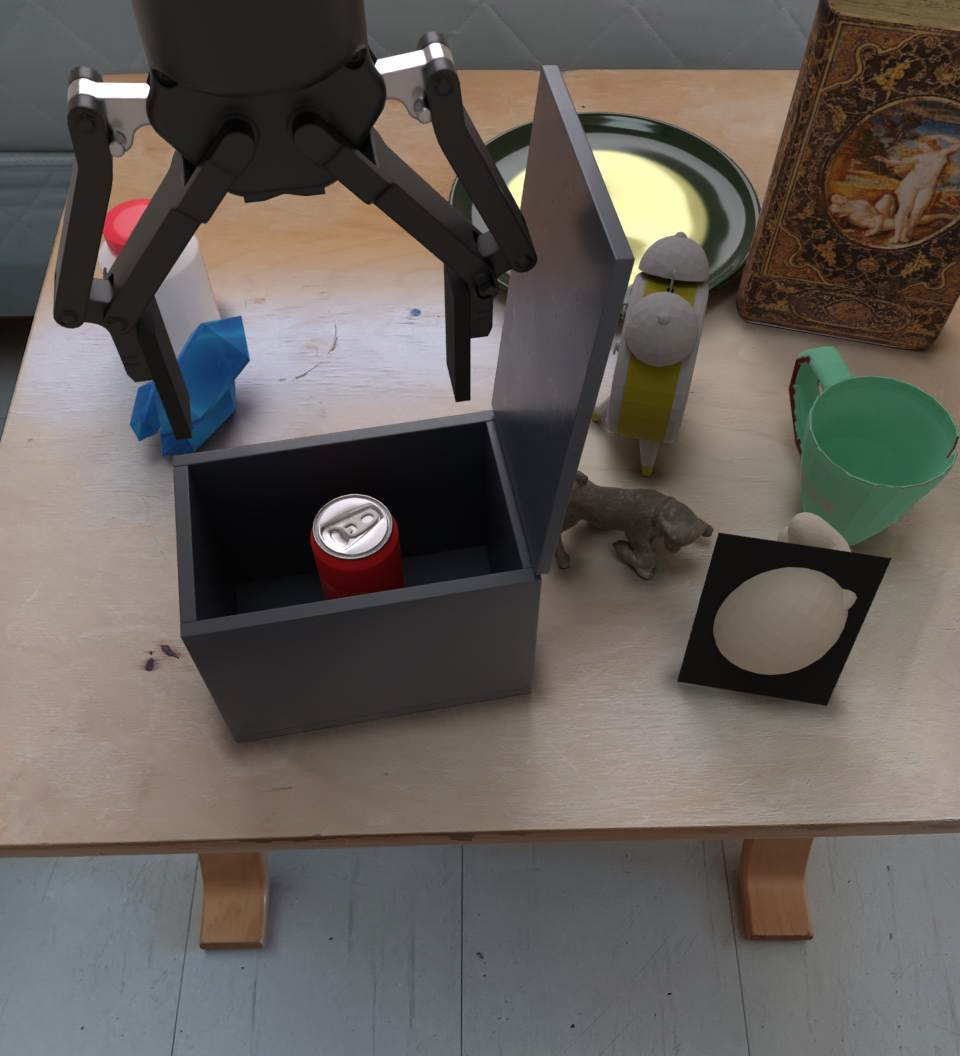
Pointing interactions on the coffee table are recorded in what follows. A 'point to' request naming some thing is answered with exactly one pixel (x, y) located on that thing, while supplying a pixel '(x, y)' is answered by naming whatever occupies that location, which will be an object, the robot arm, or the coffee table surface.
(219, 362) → the crystal
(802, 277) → the book
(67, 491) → the coffee table surface
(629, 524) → the dog figurine
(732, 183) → the plate
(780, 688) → the decorative object
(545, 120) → the dark grey box lid
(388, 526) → the beverage can
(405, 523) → the dark grey storage box
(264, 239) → the coffee table surface
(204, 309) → the pill bottle
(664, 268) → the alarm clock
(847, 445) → the mug
